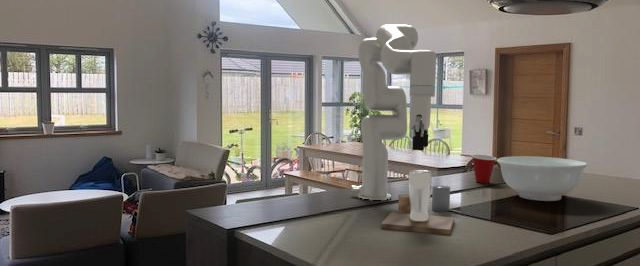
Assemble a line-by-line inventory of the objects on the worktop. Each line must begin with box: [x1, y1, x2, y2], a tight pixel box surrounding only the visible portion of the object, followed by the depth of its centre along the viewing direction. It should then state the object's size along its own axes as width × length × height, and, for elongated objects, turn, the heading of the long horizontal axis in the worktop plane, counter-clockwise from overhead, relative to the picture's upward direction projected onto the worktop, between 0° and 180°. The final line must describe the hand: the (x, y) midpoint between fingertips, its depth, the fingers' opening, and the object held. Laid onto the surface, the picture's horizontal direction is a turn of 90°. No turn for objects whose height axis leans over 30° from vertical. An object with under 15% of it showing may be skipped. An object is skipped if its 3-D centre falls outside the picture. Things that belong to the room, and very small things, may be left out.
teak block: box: [397, 193, 411, 214], centre depth 188 cm, size 5×5×6 cm
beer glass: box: [407, 169, 433, 222], centre depth 171 cm, size 7×7×15 cm
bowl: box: [496, 155, 588, 202], centre depth 218 cm, size 32×32×15 cm
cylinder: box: [431, 184, 451, 213], centre depth 194 cm, size 6×6×8 cm
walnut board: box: [380, 212, 455, 235], centre depth 172 cm, size 20×16×2 cm
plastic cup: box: [471, 154, 498, 184], centre depth 252 cm, size 11×11×12 cm
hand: (420, 148), depth 170 cm, fingers open, 9 cm apart
